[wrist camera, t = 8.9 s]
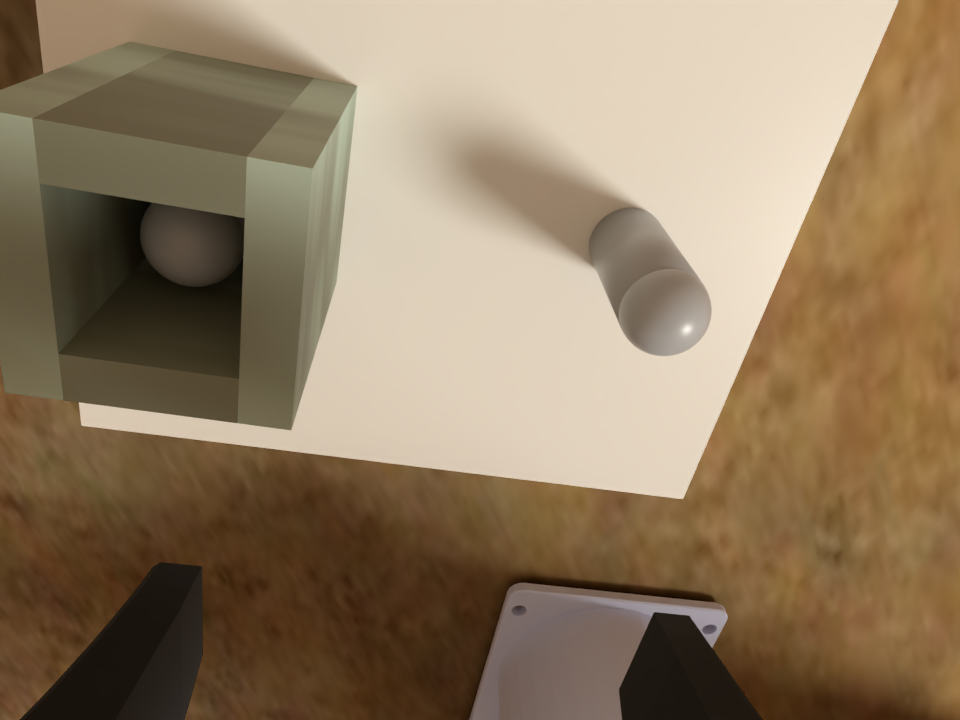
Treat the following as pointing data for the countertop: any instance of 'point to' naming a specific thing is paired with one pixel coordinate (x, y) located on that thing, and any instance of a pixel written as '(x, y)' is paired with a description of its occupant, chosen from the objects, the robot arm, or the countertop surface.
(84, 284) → the square socket block
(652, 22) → the jig board
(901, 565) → the countertop surface
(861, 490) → the countertop surface
